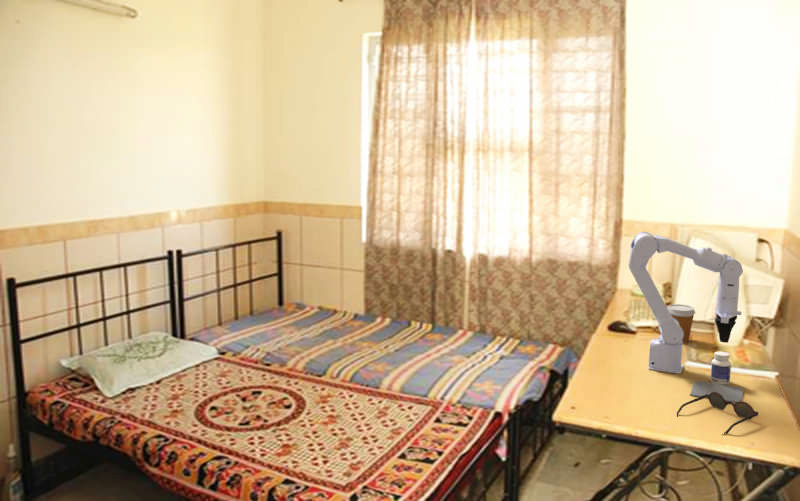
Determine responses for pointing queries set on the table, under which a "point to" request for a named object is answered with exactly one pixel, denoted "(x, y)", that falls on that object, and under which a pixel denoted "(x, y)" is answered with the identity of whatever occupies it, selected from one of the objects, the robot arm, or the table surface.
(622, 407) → the table surface
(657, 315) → the robot arm
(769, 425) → the table surface
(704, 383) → the desk mat
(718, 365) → the pill bottle
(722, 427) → the table surface
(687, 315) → the disposable coffee cup
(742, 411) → the eyeglasses
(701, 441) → the table surface
